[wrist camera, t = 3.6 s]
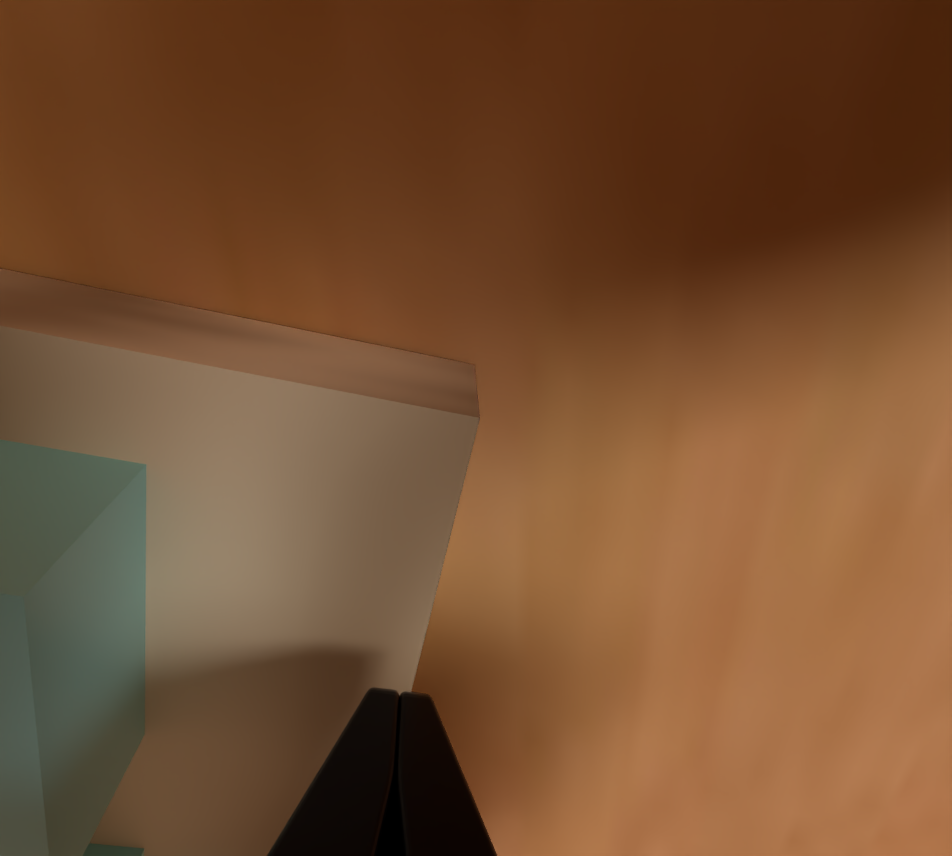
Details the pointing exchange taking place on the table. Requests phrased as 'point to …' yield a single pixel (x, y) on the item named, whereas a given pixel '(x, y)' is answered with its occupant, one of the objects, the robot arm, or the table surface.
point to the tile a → (68, 642)
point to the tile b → (112, 850)
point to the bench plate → (248, 533)
